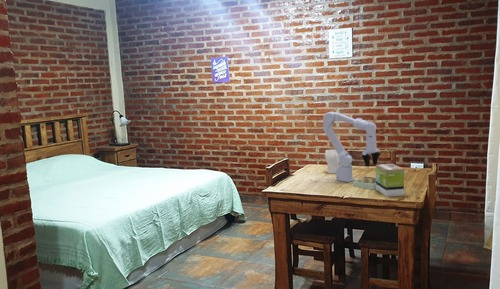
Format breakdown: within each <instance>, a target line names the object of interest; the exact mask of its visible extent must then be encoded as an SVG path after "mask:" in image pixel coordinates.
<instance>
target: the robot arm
mask: <svg viewBox="0 0 500 289" xmlns="http://www.w3.org/2000/svg"><path fill="white" fill-rule="evenodd" d="M338 121H342V122H346V123H348V124H351V125H353V127H354V128H356V129H358V130H361V131H365V132H366V135H365V143H366V144H365V146H366V147H365V150H363V151H362V153H361V157H362V159H363V162H364V165H365V167H370V162H371V159H372V165H375V166H376V165H378V161H379V158H380V156H381V152H380V148H377V132H376V130H377V125H376V123H374V122H371V121H370V120H364V119H363V117H357V118H354V117H351V116H348V115H345V114H343V113H340V112H335V111H333V110H332V111H329V112H326V113H324V115H323V118H322V129H323V132H324V133H325V135H326V137H327V139H328V140H329V142H330V143H331V146H332V147H333V148H334V150H336V152H337V154H338V157H339V159H340V162H339V164H340V165H338V167H337V169H336V173H335V174H336V177H335V181H339V182H344V183H349V182H353V181H356V179H354V178H353V165H352V163H353V157H352V155H351V154H349V153H348V151H346V150H345V148H344V146H343V144H342V142H341V141H340V139H339V137H338V136H337V135H336V132H335V130H334V129H333V127H334V126H333V125H334V123H335V122H338Z"/></svg>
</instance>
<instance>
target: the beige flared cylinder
mask: <svg viewBox="0 0 500 289" xmlns="http://www.w3.org/2000/svg"><path fill="white" fill-rule="evenodd" d="M324 152H325V153H324V158H325V162H326V164H327V174H336V169H337V167H338V166H339V164H340V159H339V157H338V154H337V152H336V150H335V149H326V150H325V151H324Z"/></svg>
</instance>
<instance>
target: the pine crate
mask: <svg viewBox="0 0 500 289" xmlns="http://www.w3.org/2000/svg"><path fill="white" fill-rule="evenodd" d="M360 179H361V182H363V183H368V184H375V183H376V177H373V176H367V175H366V176H363V177H361V178H360Z"/></svg>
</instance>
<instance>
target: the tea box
mask: <svg viewBox="0 0 500 289" xmlns="http://www.w3.org/2000/svg"><path fill="white" fill-rule="evenodd" d="M375 178H376V189H375V191H378V192H379V193H380V194H382V195H383V196H385V197H387V198H388V197H402V196H405V168H403V167H400V166H398V165H396V164H394V163H384V164H377V165H375Z"/></svg>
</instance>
